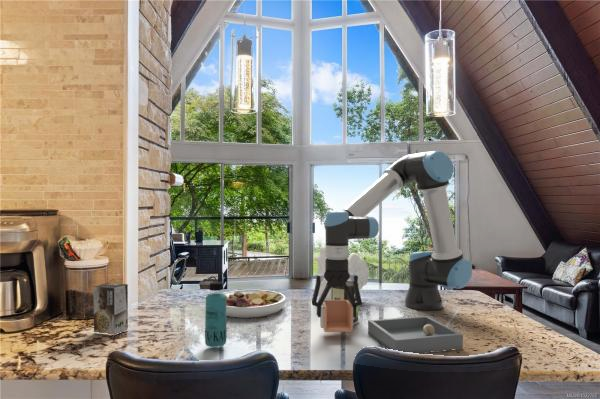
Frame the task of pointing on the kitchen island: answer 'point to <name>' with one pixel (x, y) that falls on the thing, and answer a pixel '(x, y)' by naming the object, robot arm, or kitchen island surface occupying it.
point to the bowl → (253, 303)
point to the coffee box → (110, 308)
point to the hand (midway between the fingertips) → (336, 326)
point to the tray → (414, 335)
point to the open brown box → (337, 316)
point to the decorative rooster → (354, 267)
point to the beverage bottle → (215, 316)
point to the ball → (428, 329)
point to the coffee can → (345, 296)
